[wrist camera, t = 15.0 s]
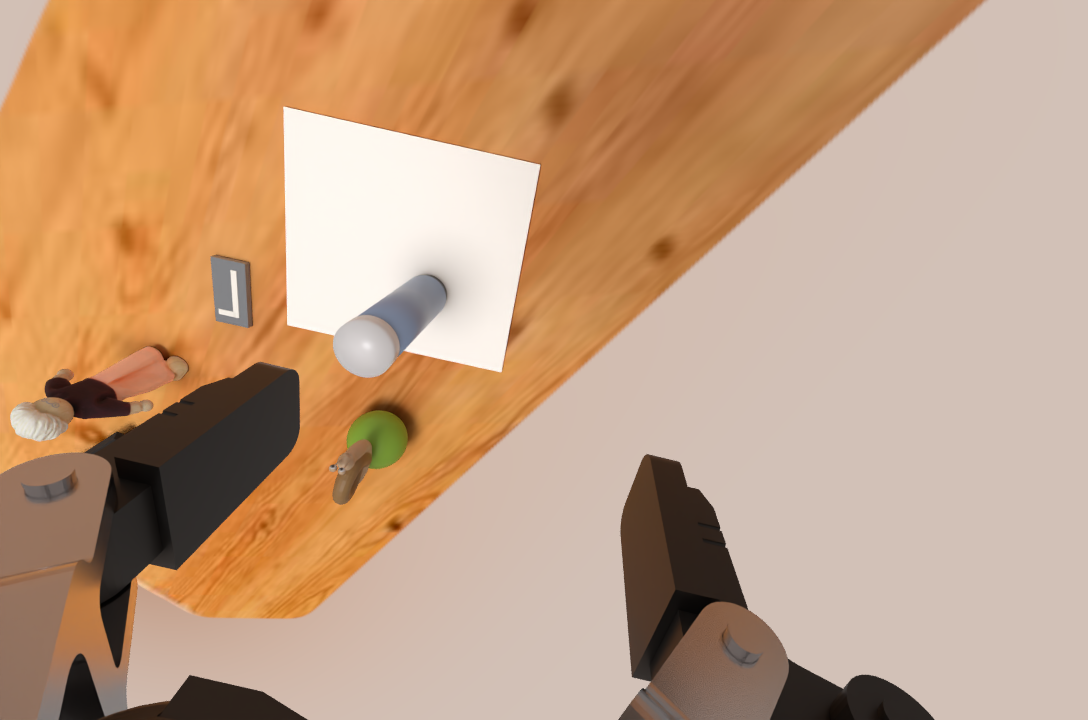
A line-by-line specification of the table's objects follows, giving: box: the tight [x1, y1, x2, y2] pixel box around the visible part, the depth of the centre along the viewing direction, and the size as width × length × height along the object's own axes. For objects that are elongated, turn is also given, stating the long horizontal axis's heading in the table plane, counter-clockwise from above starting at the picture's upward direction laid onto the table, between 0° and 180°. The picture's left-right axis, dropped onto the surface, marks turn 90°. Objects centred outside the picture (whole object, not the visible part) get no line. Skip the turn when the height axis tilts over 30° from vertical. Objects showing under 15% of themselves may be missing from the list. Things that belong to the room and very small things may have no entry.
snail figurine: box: [329, 410, 408, 505], centre depth 41 cm, size 5×6×12 cm
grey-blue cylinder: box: [333, 275, 447, 377], centre depth 35 cm, size 4×4×13 cm
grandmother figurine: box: [10, 346, 188, 441], centre depth 40 cm, size 8×4×13 cm, turn 77°
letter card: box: [211, 255, 252, 328], centre depth 42 cm, size 6×3×1 cm, turn 168°
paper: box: [284, 107, 541, 372], centre depth 40 cm, size 18×20×1 cm
